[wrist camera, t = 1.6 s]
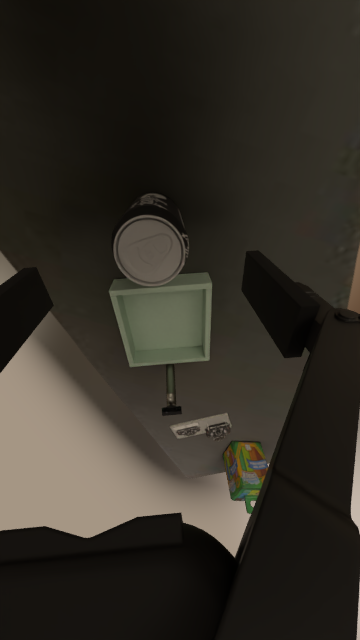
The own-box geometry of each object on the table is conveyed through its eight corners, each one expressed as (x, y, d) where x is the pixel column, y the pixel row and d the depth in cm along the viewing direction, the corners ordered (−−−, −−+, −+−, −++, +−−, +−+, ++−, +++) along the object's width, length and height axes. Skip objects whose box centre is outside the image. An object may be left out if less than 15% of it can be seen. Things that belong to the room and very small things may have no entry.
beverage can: (116, 215, 26) (89, 246, 17) (158, 178, 24) (155, 187, 15) (151, 258, 30) (145, 303, 20) (191, 228, 28) (205, 262, 18)
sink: (113, 279, 31) (108, 291, 28) (207, 271, 31) (212, 283, 28) (132, 352, 40) (129, 367, 37) (206, 346, 40) (209, 360, 37)
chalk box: (260, 441, 64) (283, 505, 52) (248, 455, 69) (267, 516, 57) (231, 440, 62) (247, 506, 50) (221, 454, 67) (233, 517, 55)
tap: (160, 343, 39) (159, 401, 29) (176, 342, 39) (180, 399, 29) (162, 358, 41) (162, 417, 32) (177, 357, 41) (181, 415, 32)
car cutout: (226, 412, 54) (231, 430, 50) (231, 425, 57) (235, 443, 54) (169, 425, 56) (170, 443, 52) (177, 437, 59) (178, 454, 56)
